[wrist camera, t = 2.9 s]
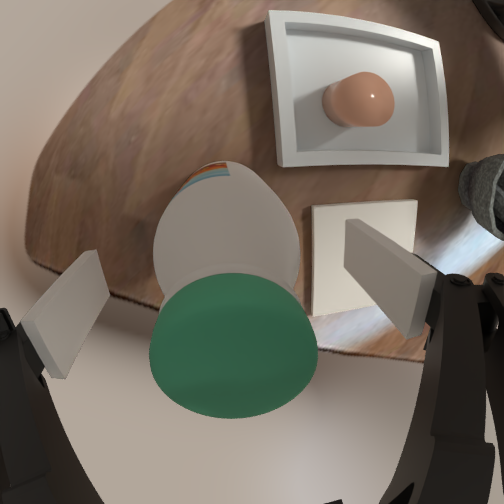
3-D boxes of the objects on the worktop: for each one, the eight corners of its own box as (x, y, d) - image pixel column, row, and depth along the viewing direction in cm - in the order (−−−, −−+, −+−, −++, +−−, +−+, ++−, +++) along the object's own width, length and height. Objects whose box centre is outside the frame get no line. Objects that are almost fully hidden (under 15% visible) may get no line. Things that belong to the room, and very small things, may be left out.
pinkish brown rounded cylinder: (363, 83, 21) (392, 75, 17) (367, 128, 23) (396, 128, 18) (319, 80, 21) (341, 68, 16) (323, 126, 23) (346, 125, 18)
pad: (413, 199, 27) (417, 200, 26) (401, 295, 32) (404, 298, 31) (311, 205, 26) (314, 207, 25) (310, 312, 31) (312, 316, 30)
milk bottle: (258, 152, 24) (381, 200, 5) (272, 234, 27) (364, 416, 8) (172, 171, 24) (39, 273, 5) (192, 251, 27) (157, 452, 8)
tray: (424, 45, 20) (438, 41, 18) (434, 163, 26) (448, 167, 23) (264, 20, 19) (268, 10, 17) (277, 164, 24) (283, 167, 22)
